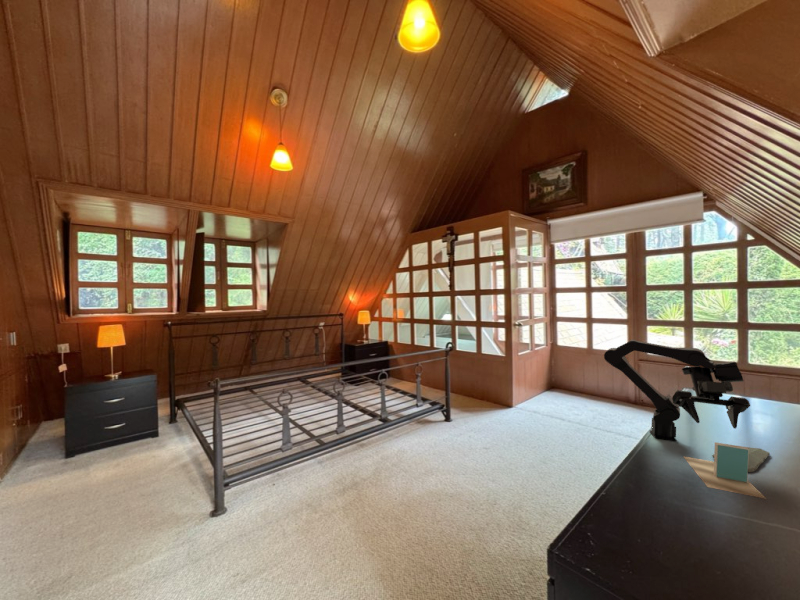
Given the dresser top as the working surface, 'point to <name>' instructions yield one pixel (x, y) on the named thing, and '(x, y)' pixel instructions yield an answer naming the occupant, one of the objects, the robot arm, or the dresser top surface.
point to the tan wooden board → (720, 479)
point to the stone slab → (755, 458)
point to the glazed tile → (731, 462)
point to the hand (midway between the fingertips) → (716, 425)
